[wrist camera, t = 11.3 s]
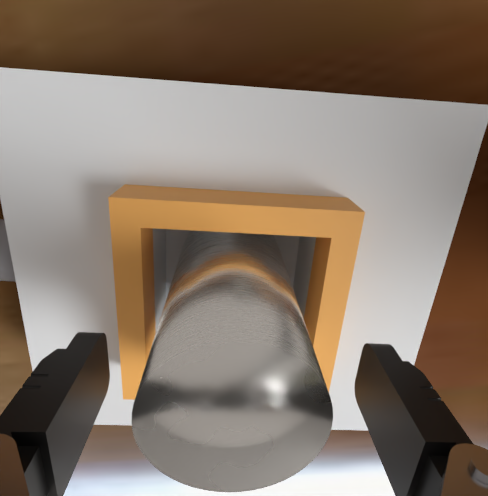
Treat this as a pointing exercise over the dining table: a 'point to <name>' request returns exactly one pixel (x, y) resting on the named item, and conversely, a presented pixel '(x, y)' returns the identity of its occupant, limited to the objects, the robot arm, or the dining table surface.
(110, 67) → the dining table surface
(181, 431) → the shiny metal cylinder
